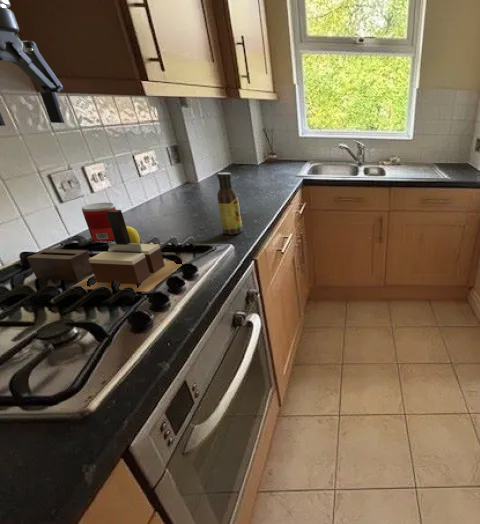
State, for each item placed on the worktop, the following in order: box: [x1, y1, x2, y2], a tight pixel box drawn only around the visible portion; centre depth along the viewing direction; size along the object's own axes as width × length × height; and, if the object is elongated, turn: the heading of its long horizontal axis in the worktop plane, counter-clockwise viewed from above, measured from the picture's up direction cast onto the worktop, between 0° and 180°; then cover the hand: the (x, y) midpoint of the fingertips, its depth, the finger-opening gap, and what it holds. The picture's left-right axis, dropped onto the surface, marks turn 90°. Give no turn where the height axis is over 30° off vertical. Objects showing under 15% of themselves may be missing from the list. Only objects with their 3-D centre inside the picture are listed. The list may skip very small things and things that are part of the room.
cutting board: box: [69, 260, 187, 293], centre depth 81 cm, size 18×16×2 cm
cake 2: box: [107, 243, 165, 273], centre depth 82 cm, size 10×4×6 cm, turn 87°
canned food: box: [81, 202, 117, 242], centre depth 102 cm, size 8×8×11 cm
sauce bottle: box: [216, 171, 243, 236], centre depth 109 cm, size 6×6×20 cm
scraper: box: [106, 209, 143, 253], centre depth 78 cm, size 8×2×16 cm, turn 87°
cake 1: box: [89, 251, 151, 284], centre depth 77 cm, size 10×4×6 cm, turn 88°
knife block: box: [26, 248, 93, 282], centre depth 79 cm, size 10×5×7 cm, turn 87°
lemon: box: [126, 225, 141, 244], centre depth 95 cm, size 6×6×8 cm
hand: (30, 124), depth 73 cm, fingers open, 13 cm apart
